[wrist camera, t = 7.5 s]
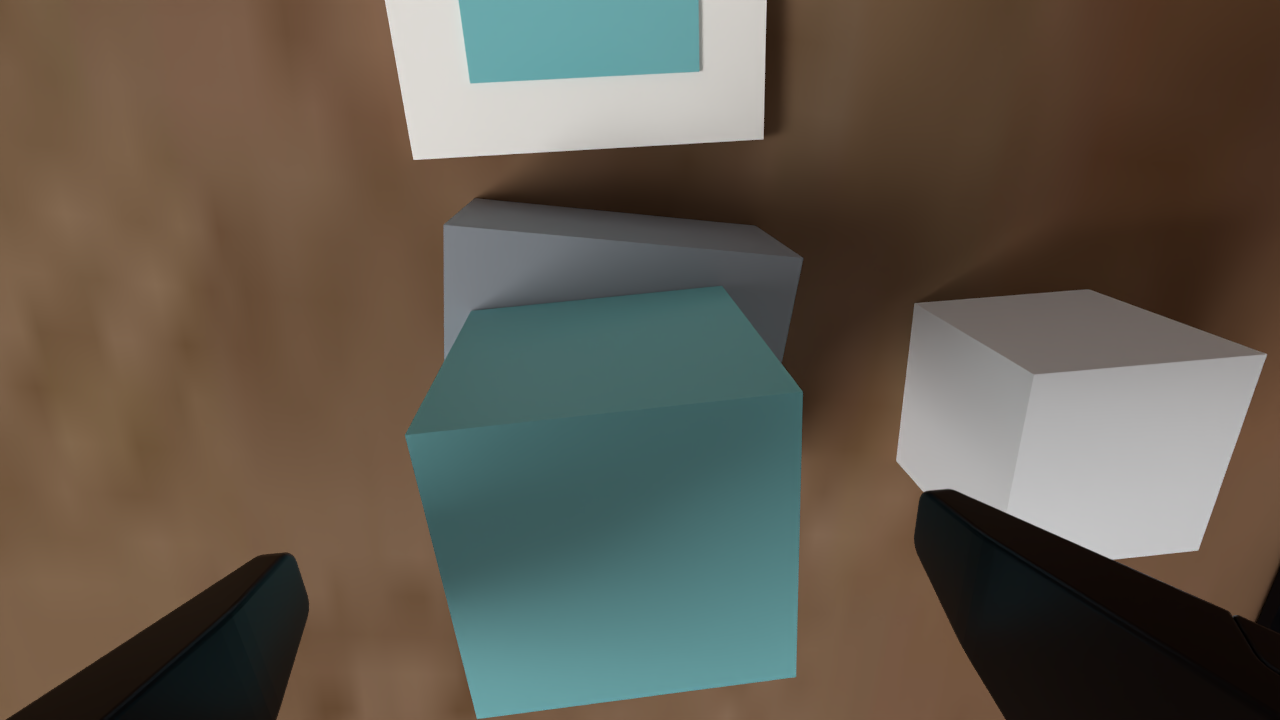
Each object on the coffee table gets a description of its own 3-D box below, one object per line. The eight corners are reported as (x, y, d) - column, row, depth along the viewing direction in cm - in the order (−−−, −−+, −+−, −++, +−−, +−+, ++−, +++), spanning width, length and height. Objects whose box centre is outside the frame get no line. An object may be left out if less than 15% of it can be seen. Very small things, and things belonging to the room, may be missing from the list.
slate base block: (712, 458, 19) (744, 544, 15) (473, 446, 18) (445, 534, 14) (752, 223, 16) (803, 258, 13) (476, 196, 15) (443, 224, 12)
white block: (1052, 444, 19) (1198, 550, 15) (894, 459, 19) (994, 572, 15) (1086, 288, 18) (1266, 354, 13) (913, 302, 17) (1033, 374, 13)
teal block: (727, 494, 15) (796, 677, 10) (511, 519, 14) (476, 719, 10) (722, 285, 13) (802, 391, 8) (470, 310, 12) (404, 435, 8)
